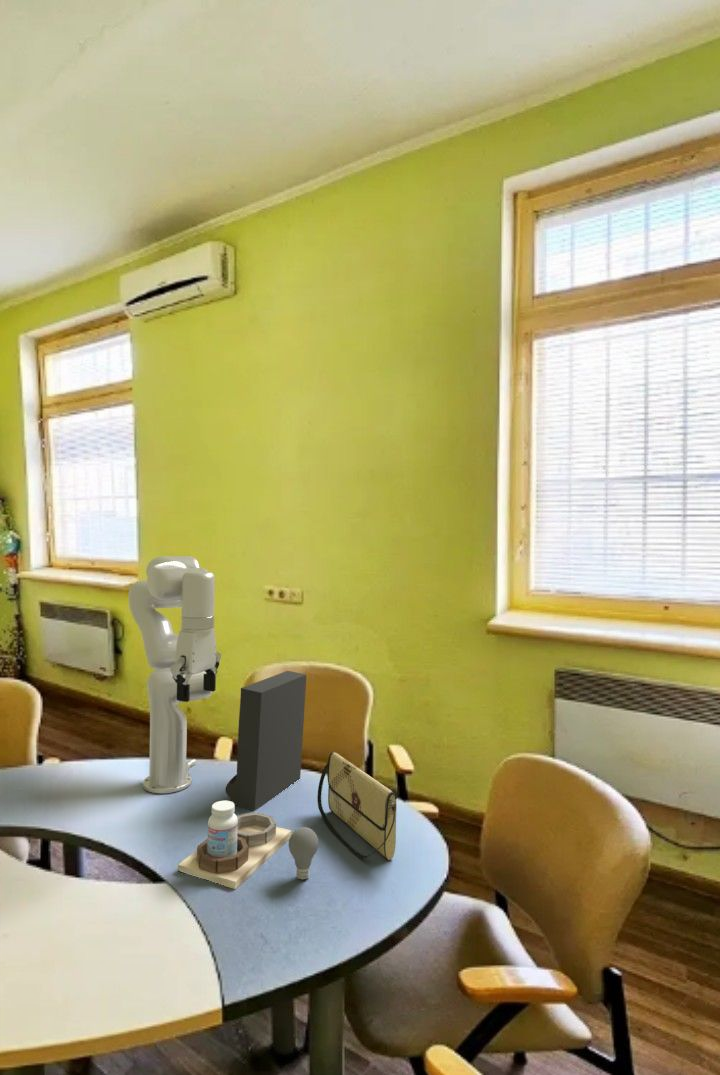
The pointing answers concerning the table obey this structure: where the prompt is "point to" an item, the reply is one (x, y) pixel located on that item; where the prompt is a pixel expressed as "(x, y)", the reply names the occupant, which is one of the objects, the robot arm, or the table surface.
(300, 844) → the light bulb
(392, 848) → the clutch purse
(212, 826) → the pill bottle
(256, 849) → the holder board
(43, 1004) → the table surface
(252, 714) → the dark gray upright block
